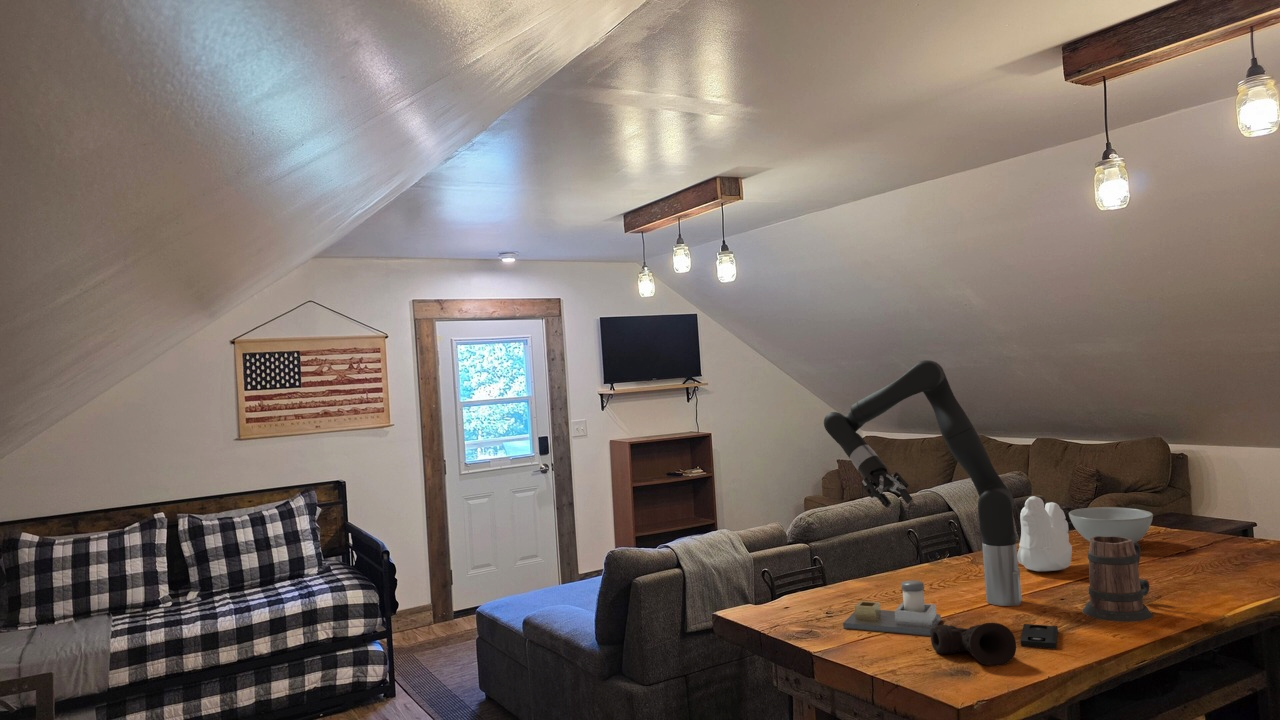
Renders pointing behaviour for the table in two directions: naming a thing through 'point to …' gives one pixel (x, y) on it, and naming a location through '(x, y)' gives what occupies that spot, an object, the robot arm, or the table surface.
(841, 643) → the table surface
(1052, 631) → the vhs tape
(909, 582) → the grey and white cylinder
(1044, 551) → the white figurine
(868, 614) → the plate
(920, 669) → the table surface
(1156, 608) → the table surface
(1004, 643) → the pipe
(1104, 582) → the tankard
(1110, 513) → the decorative bowl
